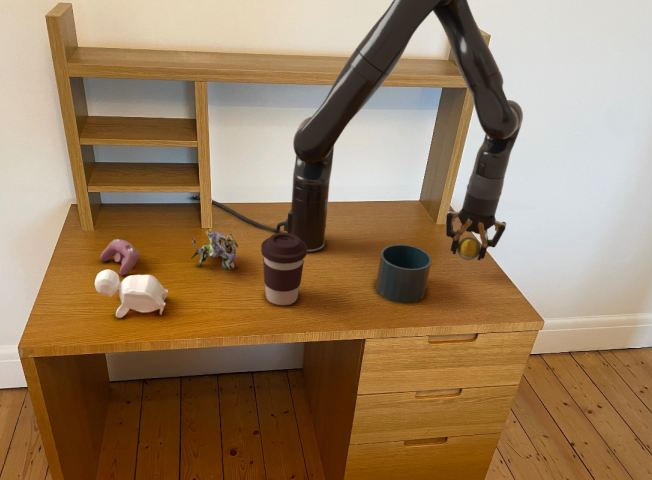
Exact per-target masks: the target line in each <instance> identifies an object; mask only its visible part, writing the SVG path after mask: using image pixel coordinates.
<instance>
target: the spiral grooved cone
mask: <svg viewBox="0 0 652 480" xmlns="http://www.w3.org/2000/svg"><path fill="white" fill-rule="evenodd" d="M480 249H481V244H480V242H479V241H478V240H477V239H476V238H474V237H465V238H463V239H460V240H459V244H458V247H457V254H458V255H459V256H460V257H461V258H462V259H463V260H467V261H470V260H474V259H477V258H478V256H479V252H480Z"/></svg>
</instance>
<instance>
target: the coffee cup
mask: <svg viewBox="0 0 652 480" xmlns="http://www.w3.org/2000/svg"><path fill="white" fill-rule="evenodd" d="M260 245H261V247H260V251H261V255H262V256H263V259H262V263H263V266H262V267H263V282H264V289H265V297H266V300H267V301H268V302H269V303H271V304H273V305H276V306H289V305H292V304H294V303H295V302H296V301H297V299H298V296H299V290H300V286H301V282H302V276H303V270H304V265H305V263H304V262H305V261H304V260H305V258H306V257H307V254H308V252H307V246H306V244H305V243H304V242H303V241H302V240H300V239H299V238H298V237H297V236H296V235H294V234H290V233H287V232H275V233H274V234H272V235H270V236H269V237H268V238H265V239H264V240H263V241H262V243H261V244H260Z"/></svg>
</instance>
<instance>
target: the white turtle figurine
mask: <svg viewBox="0 0 652 480" xmlns="http://www.w3.org/2000/svg"><path fill="white" fill-rule="evenodd" d="M119 275H120V274H119V273H117V272H115V271H114V270H112V269H109V268H108V269H104V270H101V271H100V272H99V273H97V274H96V277H95V280H94V287H95V290H96V292H97V293H98V294H100V295H104V296H107V297H110V298H111V297H113V296H114V295H115V294H116V293H117V292H118V298H119V300H120V302H121V304H120V305H119V307H117V309H116V312H115V318H118V319H121V318H123V317H124V316H126V314H128V312H129V311H130V310H133V311H136V312H139V313H152V312H155V311H157V310H159V315H162V314H163V311H164V308H165V306H166V302H165V300H166V297H167V296H168V293H169V290H168V288H167V289H166V288H164V286H163V285H162V284H161V283H160V281H159V280H158V279H157V277H156V276H154V275H152V274H132V275H128V276H126V277H125V278H123V280H122V281H120V276H119Z"/></svg>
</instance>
